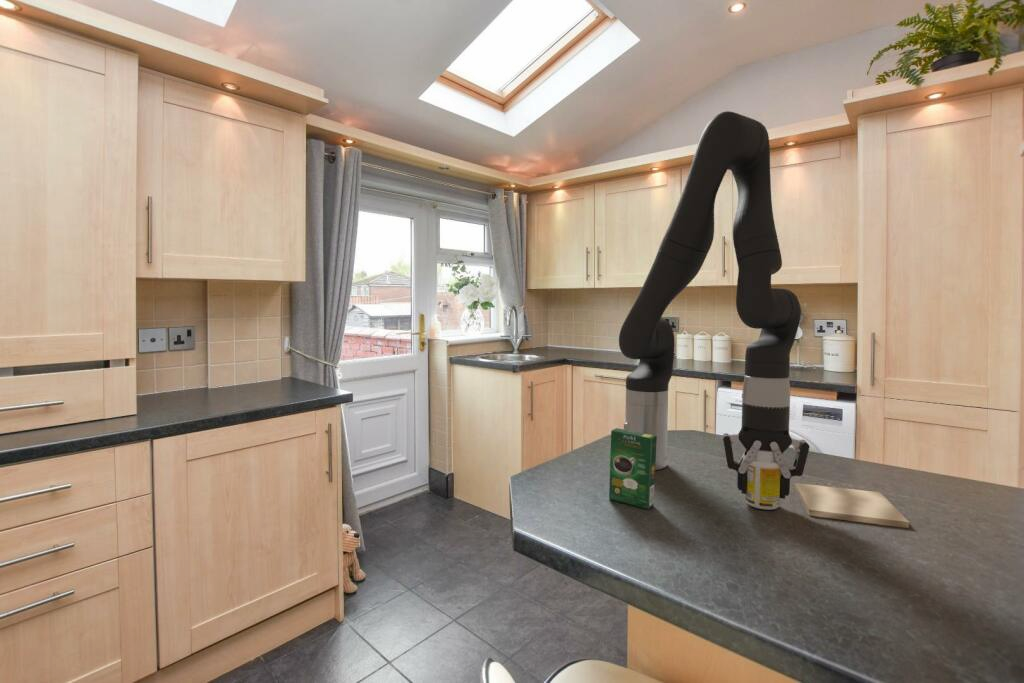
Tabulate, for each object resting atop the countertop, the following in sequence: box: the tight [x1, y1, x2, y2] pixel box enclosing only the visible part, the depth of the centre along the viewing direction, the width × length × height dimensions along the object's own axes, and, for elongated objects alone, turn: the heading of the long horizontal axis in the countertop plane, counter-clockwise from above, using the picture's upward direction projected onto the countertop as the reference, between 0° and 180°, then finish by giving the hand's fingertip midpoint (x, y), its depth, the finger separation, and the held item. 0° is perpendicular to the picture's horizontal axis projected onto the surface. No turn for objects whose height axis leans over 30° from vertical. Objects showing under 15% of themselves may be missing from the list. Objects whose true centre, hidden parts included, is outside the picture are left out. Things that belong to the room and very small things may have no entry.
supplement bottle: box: [744, 450, 781, 511], centre depth 89 cm, size 6×6×10 cm
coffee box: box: [608, 427, 657, 510], centre depth 90 cm, size 8×3×13 cm, turn 52°
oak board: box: [794, 482, 910, 529], centre depth 89 cm, size 14×14×1 cm
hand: (762, 494), depth 89 cm, fingers closed on supplement bottle, 5 cm apart
